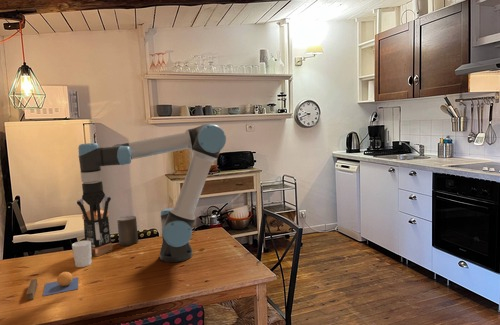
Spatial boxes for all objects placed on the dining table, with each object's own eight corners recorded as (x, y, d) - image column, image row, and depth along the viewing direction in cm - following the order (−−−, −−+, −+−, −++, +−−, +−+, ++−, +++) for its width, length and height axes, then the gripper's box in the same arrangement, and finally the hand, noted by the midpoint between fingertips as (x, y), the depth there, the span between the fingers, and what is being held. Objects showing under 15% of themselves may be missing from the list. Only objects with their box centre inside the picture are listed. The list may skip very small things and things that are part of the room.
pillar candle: (141, 242, 196) (139, 214, 194) (124, 247, 189) (122, 218, 187) (132, 238, 202) (130, 212, 201) (115, 243, 195) (113, 216, 194)
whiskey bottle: (114, 250, 185) (108, 187, 181) (97, 257, 176) (90, 191, 173) (100, 247, 190) (95, 186, 186) (83, 253, 182) (77, 190, 178)
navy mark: (78, 277, 153) (78, 277, 153) (78, 289, 142) (77, 288, 142) (45, 283, 148) (45, 283, 148) (42, 296, 138) (42, 295, 137)
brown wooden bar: (37, 284, 148) (36, 278, 148) (33, 299, 135) (32, 292, 135) (31, 285, 147) (31, 279, 147) (27, 300, 135) (26, 294, 134)
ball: (66, 285, 149) (75, 274, 150) (66, 291, 144) (75, 279, 145) (54, 278, 147) (63, 267, 148) (53, 284, 142) (63, 272, 143)
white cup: (85, 268, 163) (83, 246, 162) (70, 267, 165) (68, 246, 163) (96, 261, 171) (94, 240, 170) (81, 260, 172) (79, 240, 171)
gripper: (108, 178, 153) (114, 233, 156) (74, 182, 148) (80, 239, 151) (110, 181, 146) (115, 238, 149) (74, 185, 141) (80, 244, 144)
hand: (98, 238), depth 150 cm, fingers closed
